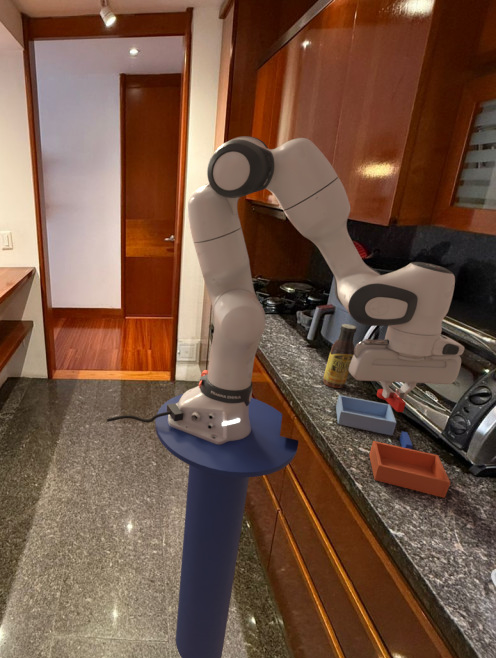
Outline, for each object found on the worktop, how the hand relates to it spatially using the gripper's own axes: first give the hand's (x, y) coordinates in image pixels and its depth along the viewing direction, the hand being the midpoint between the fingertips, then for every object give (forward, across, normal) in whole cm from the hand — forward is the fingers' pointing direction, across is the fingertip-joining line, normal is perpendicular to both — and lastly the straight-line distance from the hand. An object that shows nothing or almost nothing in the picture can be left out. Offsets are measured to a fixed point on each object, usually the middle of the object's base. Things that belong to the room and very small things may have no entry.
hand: (393, 397), depth 86 cm
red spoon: (+2, 0, 0) cm, 2 cm away
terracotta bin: (+15, +2, -7) cm, 17 cm away
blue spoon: (+15, +7, +2) cm, 17 cm away
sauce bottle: (+15, +3, +34) cm, 37 cm away
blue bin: (+15, +3, +14) cm, 21 cm away
